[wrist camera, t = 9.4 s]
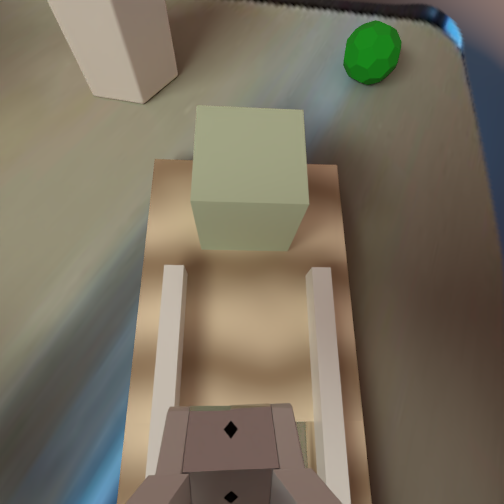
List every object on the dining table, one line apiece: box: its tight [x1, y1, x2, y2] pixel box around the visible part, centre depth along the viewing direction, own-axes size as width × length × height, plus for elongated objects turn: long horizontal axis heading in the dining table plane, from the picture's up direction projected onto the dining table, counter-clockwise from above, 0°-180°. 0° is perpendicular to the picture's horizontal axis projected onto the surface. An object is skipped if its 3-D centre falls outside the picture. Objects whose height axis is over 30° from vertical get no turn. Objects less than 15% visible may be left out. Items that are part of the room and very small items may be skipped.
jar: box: [47, 0, 178, 104], centre depth 26 cm, size 9×8×12 cm
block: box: [190, 105, 309, 251], centre depth 21 cm, size 6×6×7 cm
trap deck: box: [117, 159, 372, 504], centre depth 23 cm, size 28×14×2 cm, turn 0°
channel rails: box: [145, 265, 351, 504], centre depth 19 cm, size 19×10×2 cm, turn 0°
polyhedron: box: [343, 20, 401, 85], centre depth 31 cm, size 5×5×5 cm
